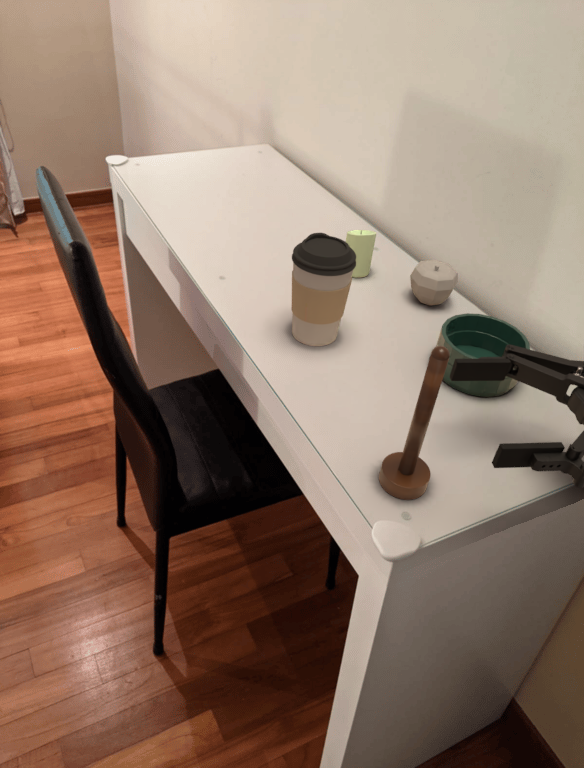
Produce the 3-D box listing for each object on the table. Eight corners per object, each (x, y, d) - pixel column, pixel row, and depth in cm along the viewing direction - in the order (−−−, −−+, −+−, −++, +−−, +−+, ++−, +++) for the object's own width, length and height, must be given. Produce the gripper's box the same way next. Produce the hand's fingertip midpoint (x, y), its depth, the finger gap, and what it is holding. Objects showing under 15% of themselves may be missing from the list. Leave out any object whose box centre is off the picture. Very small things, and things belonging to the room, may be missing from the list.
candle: (337, 265, 110) (343, 222, 105) (362, 263, 112) (370, 221, 107) (347, 279, 107) (354, 235, 102) (373, 277, 108) (381, 234, 103)
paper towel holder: (435, 493, 70) (483, 359, 58) (393, 505, 68) (433, 369, 56) (411, 459, 74) (450, 327, 62) (370, 469, 72) (402, 335, 60)
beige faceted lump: (461, 304, 104) (471, 269, 99) (431, 317, 99) (440, 282, 95) (425, 283, 108) (434, 249, 104) (395, 295, 104) (403, 261, 100)
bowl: (533, 389, 87) (548, 355, 83) (462, 405, 83) (475, 370, 79) (483, 341, 95) (494, 308, 92) (416, 353, 91) (425, 319, 87)
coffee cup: (353, 345, 91) (370, 255, 82) (298, 355, 88) (308, 262, 79) (329, 313, 98) (341, 226, 88) (276, 321, 95) (283, 231, 85)
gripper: (706, 518, 61) (507, 526, 58) (586, 364, 80) (431, 365, 77) (748, 466, 56) (533, 473, 53) (610, 316, 75) (446, 315, 72)
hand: (472, 409), depth 65 cm, fingers open, 13 cm apart
